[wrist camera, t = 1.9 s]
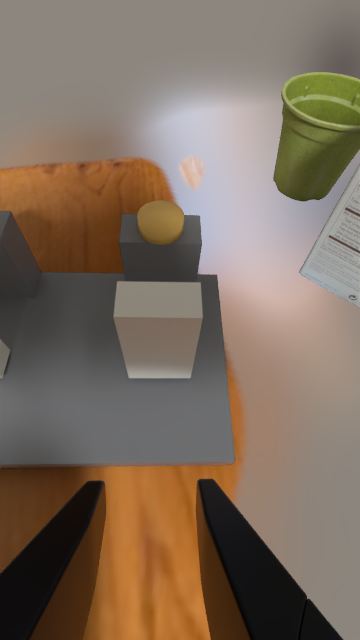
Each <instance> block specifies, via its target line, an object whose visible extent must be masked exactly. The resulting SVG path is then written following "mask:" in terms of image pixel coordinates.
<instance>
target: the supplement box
mask: <svg viewBox="0 0 360 640" xmlns="http://www.w3.org/2000/svg"><path fill="white" fill-rule="evenodd" d="M299 273H300V274H301V275H303V276H304V277H306V278H308V279H310V280H311V281H313V282H315V283H317V284H318V285H320V286H322V287H324V288H326V289H327V290H329V291H331V292H333V293H335V294H336V295H338V296H340V297H341V298H343V299H345V300H347V301H348V302H350V303H352V304H354V305H356V306H358V307H359V308H360V164H359V166H358V168H357V170H356V171H355V173H354V175H353V177H352V178H351V180H350V182H349V184H348V186H347V187H346V189H345V191H344V192H343V194H342V196H341V198H340V199H339V201H338V203H337V204H336V206H335V208H334V210H333V212H332V213H331V215H330V217H329V219H328V221H327V223H326V224H325V226H324V228H323V230H322V231H321V233H320V235H319V237H318V239H317V240H316V242H315V244H314V246H313V248H312V250H311V252H310V253H309V255H308V257H307V259H306V260H305V262H304V264H303V266H302V268H301V269H300V271H299Z"/></svg>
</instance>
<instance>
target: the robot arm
mask: <svg viewBox="0 0 360 640" xmlns="http://www.w3.org/2000/svg"><path fill="white" fill-rule="evenodd" d="M105 517H106V495H105V483H104V481H88V482H86V483H85V484H84V485H83V486H82V487H81V489H80V490H79V491H78V492H77V493H76V494H75V495H74V496H73V497H72V498H71V499H70V500H69V501H68V502H67V503H66V504H65V506H64V507H63V508H62V509H61V510H60V511H59V512H58V513H57V514H56V515H55V516H54V517H53V518H52V519H51V520H50V521H49V522H48V524H47V525H46V526H45V527H44V528H43V529H42V530H41V531H40V532H39V533H38V534H37V535H36V536H35V537H34V538H33V539H32V541H31V542H30V543H29V544H28V545H27V546H26V547H25V548H24V549H23V550H22V551H21V552H20V553H19V554H18V555H17V556H16V557H15V559H14V560H13V561H12V562H11V563H10V564H9V565H8V566H7V567H6V568H5V569H4V570H3V571H2V572H1V573H0V640H82V638H83V634H84V630H85V627H86V623H87V619H88V615H89V611H90V607H91V603H92V598H93V594H94V589H95V584H96V578H97V572H98V565H99V558H100V551H101V545H102V538H103V531H104V524H105ZM196 520H197V534H198V548H199V561H200V574H201V584H202V591H203V598H204V603H205V609H206V615H207V620H208V626H209V632H210V637H211V640H343V639H342V638H341V636H340V635H339V634H338V633H337V632H336V630H335V629H334V628H333V627H332V626H331V625H330V623H329V622H328V621H327V620H326V619H325V617H324V616H323V615H322V614H321V612H320V611H319V610H318V609H317V607H316V606H315V605H314V604H313V602H312V601H311V600H310V599H307V595H306V594H305V592H304V591H303V590H302V589H301V588H300V586H299V585H298V584H297V583H296V581H295V580H294V579H293V578H292V576H291V575H290V574H289V573H288V571H287V570H286V569H285V568H284V566H283V565H282V564H281V563H280V562H279V560H278V559H277V558H276V557H275V555H274V554H273V553H272V551H271V550H270V549H269V548H268V546H267V545H266V544H265V543H264V541H263V540H262V539H261V538H260V536H259V535H258V534H257V533H256V531H254V529H253V528H252V526H251V525H250V524H249V523H248V521H247V520H246V519H245V518H244V517H243V515H242V514H241V513H240V511H239V510H238V509H237V508H236V506H235V505H234V504H233V503H232V502H231V500H230V499H229V498H228V497H227V495H226V494H225V493H224V492H223V490H222V489H221V488H220V487H219V485H218V484H217V483H216V482H215V480H213V479H199V480H198V481H197V494H196Z"/></svg>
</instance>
